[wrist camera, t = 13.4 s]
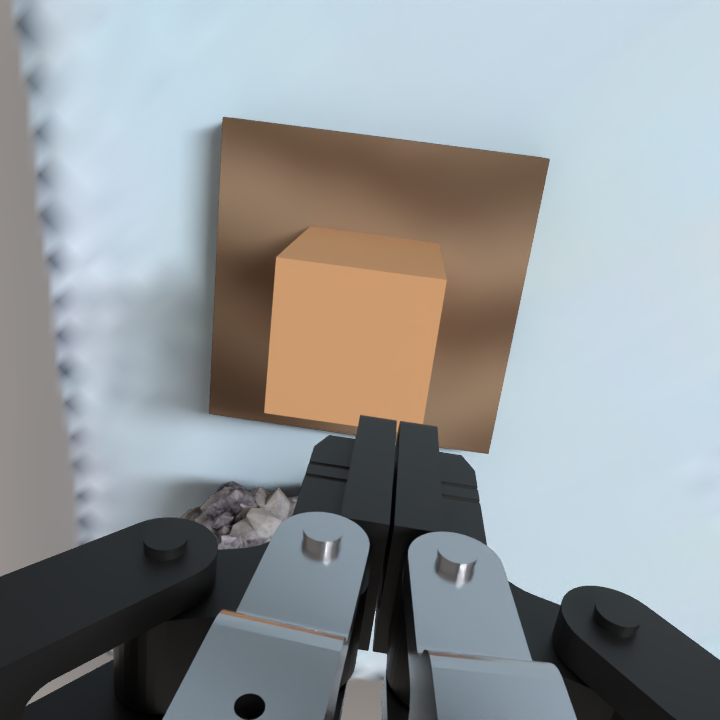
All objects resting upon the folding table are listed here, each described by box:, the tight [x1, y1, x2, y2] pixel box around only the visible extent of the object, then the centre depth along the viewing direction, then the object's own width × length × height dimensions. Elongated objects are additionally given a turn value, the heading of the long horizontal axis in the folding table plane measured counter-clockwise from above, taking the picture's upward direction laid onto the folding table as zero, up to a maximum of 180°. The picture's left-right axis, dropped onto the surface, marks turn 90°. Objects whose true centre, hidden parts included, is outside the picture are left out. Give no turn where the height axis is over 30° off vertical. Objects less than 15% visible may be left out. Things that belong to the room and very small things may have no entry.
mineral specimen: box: [180, 481, 377, 611], centre depth 33 cm, size 12×9×10 cm
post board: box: [209, 117, 550, 454], centre depth 28 cm, size 14×14×8 cm
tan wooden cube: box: [264, 227, 447, 432], centre depth 27 cm, size 6×6×8 cm
